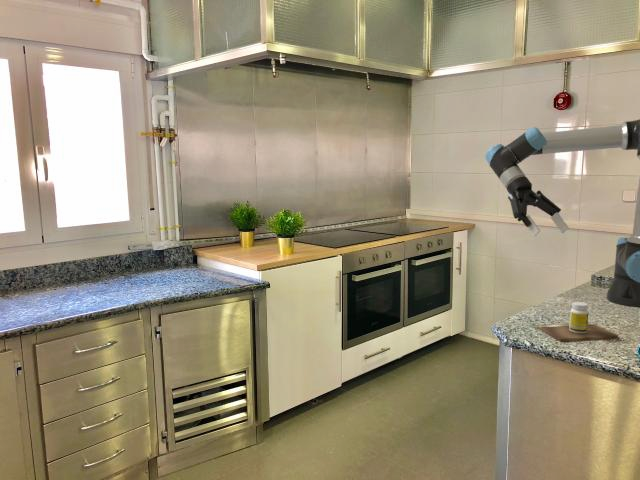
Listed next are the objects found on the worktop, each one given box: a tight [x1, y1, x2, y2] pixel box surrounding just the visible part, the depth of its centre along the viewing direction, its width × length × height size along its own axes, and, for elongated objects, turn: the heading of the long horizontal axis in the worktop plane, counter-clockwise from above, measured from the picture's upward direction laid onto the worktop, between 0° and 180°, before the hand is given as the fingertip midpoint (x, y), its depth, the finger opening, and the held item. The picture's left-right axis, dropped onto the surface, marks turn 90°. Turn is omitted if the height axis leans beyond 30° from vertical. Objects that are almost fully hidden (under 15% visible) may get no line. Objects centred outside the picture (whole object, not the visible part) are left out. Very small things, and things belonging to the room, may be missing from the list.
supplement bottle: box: [569, 301, 589, 333], centre depth 151 cm, size 5×5×8 cm
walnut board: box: [536, 321, 619, 343], centre depth 152 cm, size 18×12×1 cm, turn 98°
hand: (551, 232), depth 165 cm, fingers open, 13 cm apart
